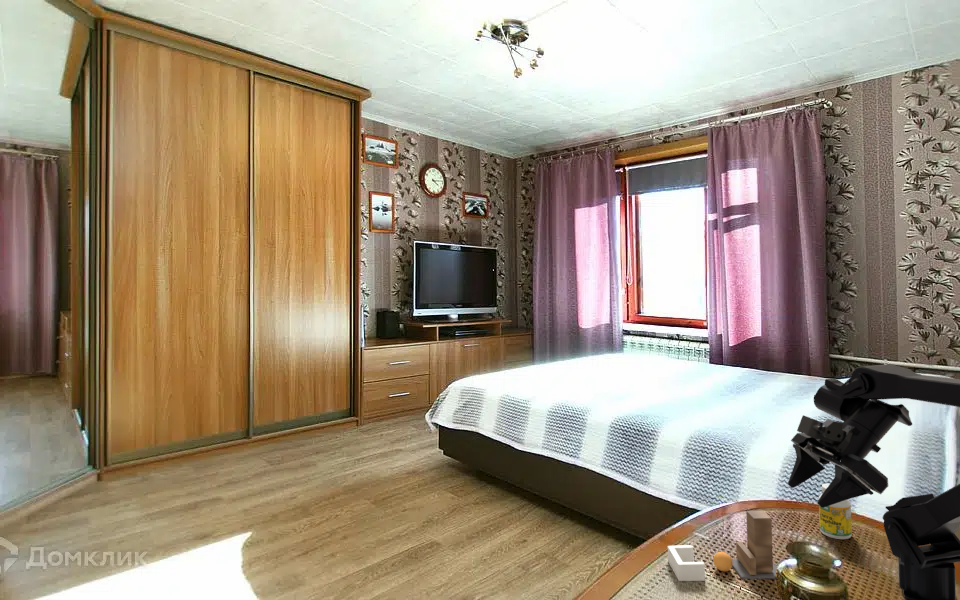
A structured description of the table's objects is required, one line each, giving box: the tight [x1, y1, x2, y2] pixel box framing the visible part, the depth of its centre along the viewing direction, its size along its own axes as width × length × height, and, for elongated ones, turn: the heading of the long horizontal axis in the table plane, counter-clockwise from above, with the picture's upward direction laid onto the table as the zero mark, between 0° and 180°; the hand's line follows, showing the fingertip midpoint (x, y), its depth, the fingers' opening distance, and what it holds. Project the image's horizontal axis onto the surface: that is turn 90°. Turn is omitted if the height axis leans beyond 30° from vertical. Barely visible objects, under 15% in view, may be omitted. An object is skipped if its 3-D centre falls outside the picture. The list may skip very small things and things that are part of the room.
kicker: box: [735, 509, 774, 575], centre depth 93 cm, size 4×6×10 cm
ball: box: [712, 551, 733, 572], centre depth 93 cm, size 3×3×3 cm
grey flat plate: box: [731, 558, 778, 580], centre depth 93 cm, size 8×6×1 cm
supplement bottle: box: [818, 482, 853, 540], centre depth 104 cm, size 5×5×10 cm
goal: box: [667, 544, 706, 582], centre depth 94 cm, size 4×6×3 cm
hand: (804, 495), depth 92 cm, fingers open, 9 cm apart
